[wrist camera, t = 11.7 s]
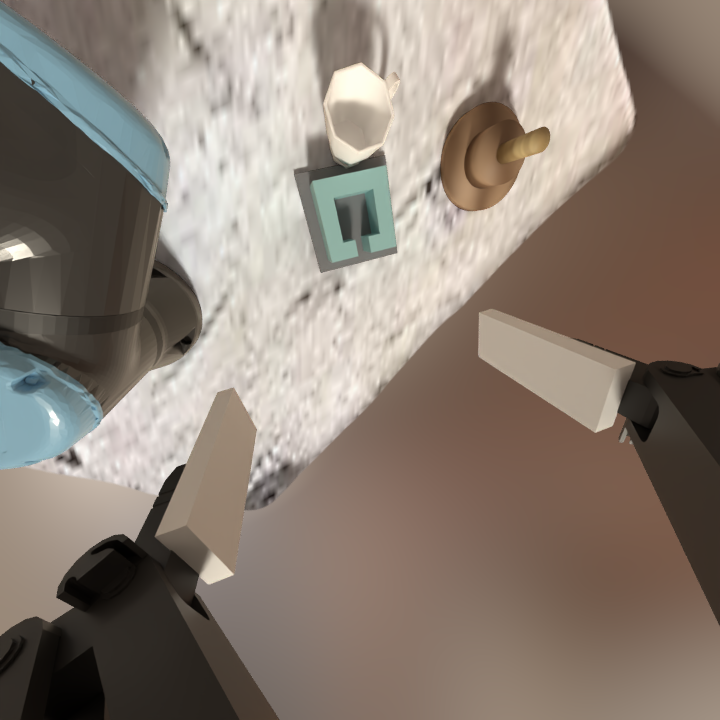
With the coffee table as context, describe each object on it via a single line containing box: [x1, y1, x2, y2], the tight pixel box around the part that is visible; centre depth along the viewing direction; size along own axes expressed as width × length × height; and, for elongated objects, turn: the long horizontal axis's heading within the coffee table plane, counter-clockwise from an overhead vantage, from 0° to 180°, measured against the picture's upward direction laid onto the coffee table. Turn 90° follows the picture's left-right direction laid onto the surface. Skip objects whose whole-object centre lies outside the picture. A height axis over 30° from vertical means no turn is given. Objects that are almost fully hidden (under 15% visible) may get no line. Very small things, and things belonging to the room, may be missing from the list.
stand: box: [440, 102, 550, 211], centre depth 32 cm, size 12×12×10 cm
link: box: [310, 165, 396, 263], centre depth 34 cm, size 9×9×4 cm
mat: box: [294, 155, 397, 273], centre depth 36 cm, size 12×12×1 cm
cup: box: [323, 62, 400, 169], centre depth 28 cm, size 7×10×8 cm
